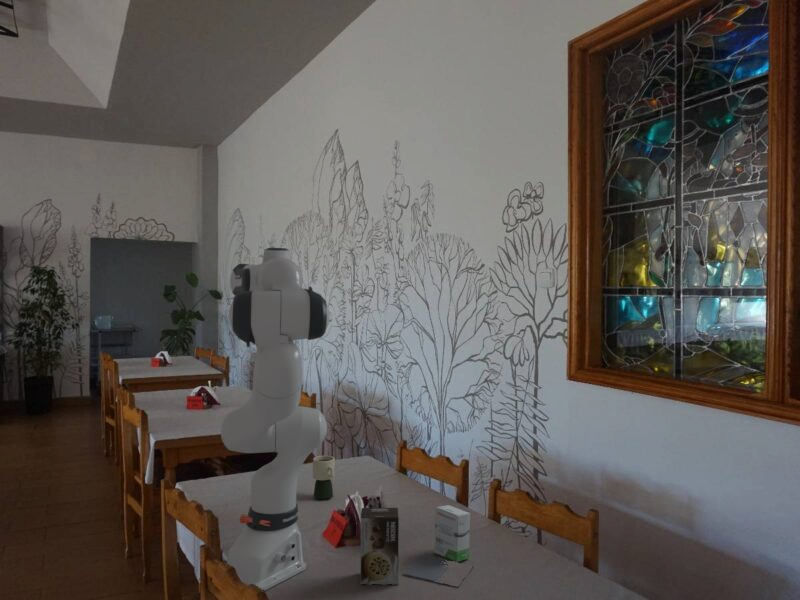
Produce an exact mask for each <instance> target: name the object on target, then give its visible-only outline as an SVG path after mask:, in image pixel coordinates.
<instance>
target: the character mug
mask: <svg viewBox="0 0 800 600" xmlns="http://www.w3.org/2000/svg"><path fill="white" fill-rule="evenodd" d="M335 462H336V459H335V457H334V456H332V455H317V456H314V457H312V478H313V479H314V480H316V481H315V484H314V491H313V498H315V499H318V500H321V499H324V500H327V499H332V498H333V497H334V493H333V490H334V489H333V484H332V483H333V482H332V479H333V478H334V477H335V475H336V473H335V465H336V463H335Z"/></svg>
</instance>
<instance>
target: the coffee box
mask: <svg viewBox="0 0 800 600" xmlns="http://www.w3.org/2000/svg"><path fill="white" fill-rule="evenodd" d="M399 525H400V514H399V508H398V507H362V508H361V511H360V581H359V584H361V586H363V585H362V584H367V585H366V586H373V585H372V584H382V586H383V585H387V584H392V585H399V582H400V580H399V577H400V575H399V572H400V571H399V567H400V566H399V562H400V561H399V560H400V559H399V557H400V555H399V552H400V551H399V548H400V547H399V545H400V544H399V540H400V539H399V537H400V536H399V535H400V534H399V531H400V530H399V529H400V526H399Z"/></svg>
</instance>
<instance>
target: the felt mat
mask: <svg viewBox="0 0 800 600" xmlns="http://www.w3.org/2000/svg"><path fill="white" fill-rule="evenodd" d="M444 559H445V560H447V561H449V560H450V559H448V558H442V557H438V556H437V557H436V556H432V555H427V554H422V553H421V554H420V556H419V557H418V558H416V559H415V561H413V562H412V564H411V565H410V566H409V567H408V568H407V569H406V570H405V571H404V572H403V574H402V576H404V575H405V576H404V577H409V576H410V577H409V578H413V577H415V578H414V579H417V578H421V579H420V580H422V579H426V580H431V581H437V580H439V579H438V578H442V577H441V576H442V574H444V573H445V572H446V571H448V570H447V569H449V568H448V567H445V566H444V565H447V566H448V564H444V563H443V562H446V561H445V560H444ZM442 561H443V562H442ZM441 563H442V564H441ZM446 563H447V562H446ZM442 566H443V567H442ZM444 567H445V568H444ZM443 569H444V570H443ZM453 569H455V568H453ZM450 570H451V569H450ZM456 570H458V569H456ZM460 570H461V569H460ZM442 571H443V572H442ZM452 571H454V570H452ZM449 572H450V571H449ZM459 572H460V571H459ZM440 573H441V574H440ZM438 575H440V576H438ZM443 577H445V576H443ZM426 580H425V581H426ZM431 581H430V582H431ZM440 581H442V580H440ZM438 582H439V581H438Z"/></svg>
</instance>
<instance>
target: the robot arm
mask: <svg viewBox="0 0 800 600" xmlns="http://www.w3.org/2000/svg"><path fill="white" fill-rule="evenodd" d="M303 282H304V279H303V274H302V270H301V269H300V267H299V265H298V264H296V263H295V262H294V261H292V255H291V251H290V249H288V248H284V247H268V248H265V249H264V251H263V255H262V262H261V263H260V264H249V263H238V264H237V265H236V266H234V267H233V269H232V271H231V274H230V278H229V285H230V290H231V292H232V295H233V296H234V297H233V300H232V301H231V303H230V306H229V310H228V319H229V324H230V327H231V328H232V332H233V333H234V335H235V336H236V337H237V338H238V339H239V340H241V341H243V342H244V343H245V344H246V347H247V348H251V347H250V346H251V344H250V343H252V344H254V346H255V347H256V356H255V360H254V361H255V362H254V366H253V373H252V374H253V376H252V391H251V396H250V397H249V399H248V401H246V402H245V403H244V404H242V405H241V406H240V407H237V408H236V409H234V410H231V411H230V412H228V413H227V414H226V416H225V417H224V419H223V420H222V423H221V427H220V438H221V440H222V443H223V445H224V446H225V448H226V449H227V450H229V451H233V452H237V453H245V454H259V453H261V454H262V453H277V454H276V457H275V458H273V460H272V461H270V462H269V463H267V464H264V465H263V466H262V467H260V468H259V469H258V470H256V471H255V472H254V473H253V475H252V477H251V483H250V485H251V491H250V493H251V495H250V497H251V498H250V500H251V501H250V507H249V509H248V512H247V514H243V513H242V514H241V515H240V516H239V519H238V521H239V523H240V524H246V525H245V527H244V528H243V530H242V531H241V532H240V535H239V536H238V537H237V539H236V541H235V542H234V543H233V544H232V547H230V549H229V550H228V553H227V557H226V564H227V563H228V564H229V565H231V566H233V567H234V568H235V569H236V571H237V573H238V575H239V577H240V578H241V579H242V580H243V581H244V582H245V583H248V584H254V585H256V586H258V587H259V588H261V589H262V590H264V591H263V592H266V591H267V590H268V589H271V588H273V587H275V586H276V585H279V584H280V583H282V582H284V581H286V580H288V579H289V578H291V577H293V576H295V575H298V574H299V573H301V572H303V571H305V570H306V569H307V563H306V562H305V561H304V558H303V546H302V543H303V542H302V536H301V535H302V534H301V532H300V529H299V527H298V523H297V521H298V519H299V507H298V504H297V493H298V492H297V490H298V481H299V480H298V479H299V474H300V471H301V468H302V466H303V464H304V462H305V461H306V459H307V458H308V457H309V455H310V454H311V453H313V452H314V451H315V450H316V449H317V448H319V447H320V446H321V445H322V443H323V442H324V441H325V439H326V435H327V429H328V423H327V420H326V418H325V415H324V413H322V411H320V410H319V409H318V408H314V407H309V406H308V407H307V406H301V405H300V402H301V398H302V397H301V395H302V394H301V393H302V386H303V362H302V356H301V352H300V349H299V347H298V346H297V345H296V343H294V341H298V340H305V339H306V340H308V341H311V340H317V339H320V338H322V337H323V336H324V335H325V334H326V331H327V328H328V327H329V323H330V317H331V316H330V309H329V307H328V304H327V301H326V299H325V298H324V297H323V296H322V295H321V294H320V293H319V292H316V291H314V289H313V287H312V286H309V287H308V289H307V288H302V287H303Z"/></svg>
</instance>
